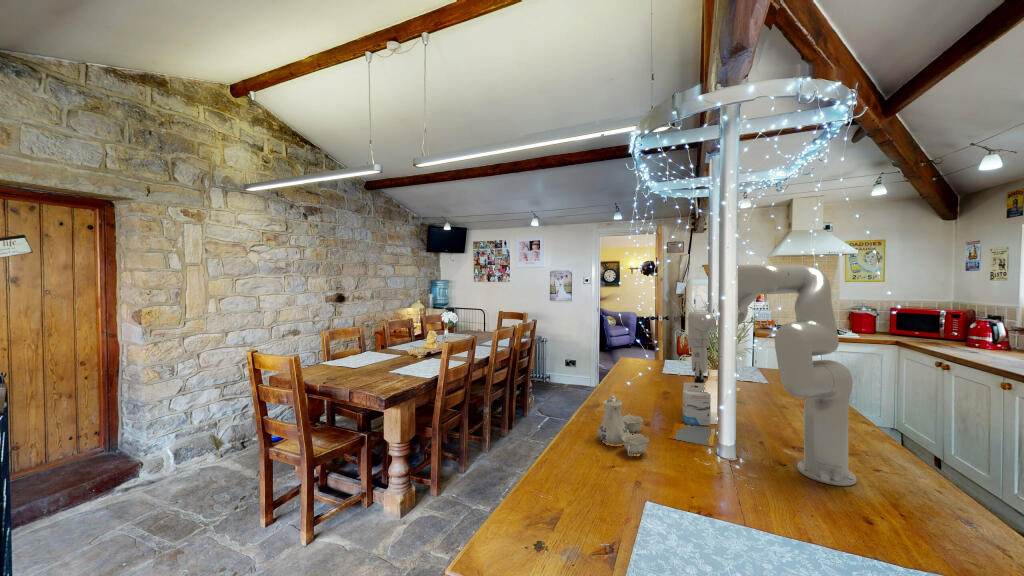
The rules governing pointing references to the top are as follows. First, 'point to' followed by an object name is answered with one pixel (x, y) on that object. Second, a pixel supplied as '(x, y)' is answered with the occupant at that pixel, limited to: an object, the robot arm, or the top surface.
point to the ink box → (696, 405)
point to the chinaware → (621, 428)
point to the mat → (694, 434)
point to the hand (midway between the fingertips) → (699, 388)
